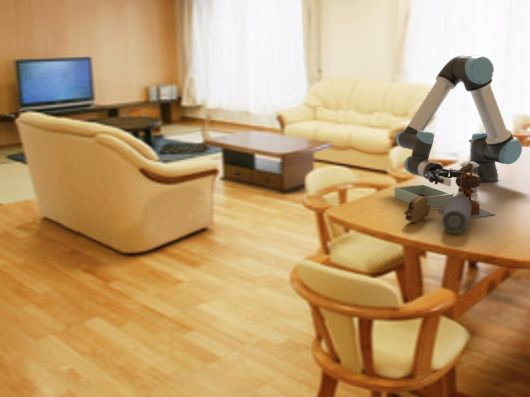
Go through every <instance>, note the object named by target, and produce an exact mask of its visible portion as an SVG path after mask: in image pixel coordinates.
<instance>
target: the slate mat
mask: <svg viewBox="0 0 530 397" xmlns="http://www.w3.org/2000/svg"><path fill="white" fill-rule="evenodd" d="M445 208H446V206H445V207H439V208H438V207H437V208H435V209H434V210H435V211H437V212H439V213H442V214H443V213H444V209H445ZM492 216H495V213H494V212H490V211H487V210H485V209H482V208H480V211H479V214H477V215H471V216H470V220H473V219H478V218H484V217H485V218H486V217H492Z"/></svg>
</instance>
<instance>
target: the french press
mask: <svg viewBox="0 0 530 397" xmlns="http://www.w3.org/2000/svg"><path fill="white" fill-rule="evenodd" d="M471 142H473V140H472V138H471V139H469V140H468V143H470V144H469V145H470V146H469V147H470V149H469V153H471ZM468 163H471V164H472V165H473V168H474V169H472V170H473V173H472V174H474V175H478V174H477V173H474V170H475V167H479V164H477V163H476V162H473V161H470V159H469V160H467V161H462V162H461V163H459V166H460V167H461V168H462V167H464V166H467V164H468ZM476 170H477V168H476ZM459 188H462V187H459V186H458V189H459ZM472 190H473V191H474V193H472V194H471V199H474V198H475V199H476V198H478V197H480V194H478V187H477V188H472ZM461 194H463V191H462V192H461ZM456 195H460V192H457V193H456V194H455V196H456Z"/></svg>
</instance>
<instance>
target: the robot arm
mask: <svg viewBox="0 0 530 397" xmlns="http://www.w3.org/2000/svg"><path fill="white" fill-rule="evenodd" d="M494 72H495V68H494V64H493V62H492V61H491V60H490V59H489V58H488V57H487V56H482V55H477V54H475V55H458V56H455V57H453V58H452V59H450V60H449V61H448V62H447V63H445V65H444V66H443V67H442V69H441V70H440V72H438V74H437V76H436V77H435V80H436V81H435V82H434V84H433V85H432V87H431V89H430V90H429V92H428V94H427V95H426V97H425V98H424V100H423V101H422V103H421V104H420V106H419V108H418V109H417V111H416V112H415V113H414V114H413V116H412V118H411V119H410V122H409V123H408V125H406V127H405V128H404V130H401V131H399V132H397V134H396V135H395V142H396V144H397V146H398V147H401V148H402V149H407V150H411V151H412V152H411V155H409V156H408V157H406V159H405V161H404V163H403V166H404V169H405V170H406V172H408V173H410V174H412V175H416V176H419V177H422V178H424V179H426V180H428V181H429V183H434V185H438V184H441V185H444V186H446V187H452V186H451V184H452V178H455V179H456V178H457V177H458V176H461V175H464V173H457V171H459V170H460V169H454V168H449V169H447V168H444V167H443V165H442V164H440V163H438V162H434V161H432V160H429V158H430V154H431V150H432V149H433V148H432V147H433V144H434V139H435V134H434V133H433V132H429V131H426V130H425V129H426V128H427V127H428V125H429V124H430V122H431V121H432V119H433V117H434V116H435V114H436V113H437V111H438V110H439V108H440V107H441V105H442V104H443V102H444V100H445V99H446V98H447V96H448V95H449V93H450V91H451V90H454V89H456V87H457V85H459V83H463V86H464V89H465V91H466V92H469V93H471V97H472V100H473V101H474V104H475V107H476V110H477V112H478V114H479V115H478V116H479V117H480V120H481V123H482V125H483V128H484V130H485V131H484V132H475V133H473V134H472V135H471V139H472V140H473V142H470V144H471V152H470V155H469V160H470V161H473V162H476V163H477V164H479V167H475V170H474V173H477V174H478V175H474V174H472V175H473V176H477V177H479V178H480V180H481V183H493V182H497V181H498V180H499V174H498V168H497V167H496V166H497V165H496V163H499V164H502V165H503V164H505V165H511V164H514V163H516V162H517V161H518V160H519V158H520V156H521V154H522V152H523V144H522V142H520V141H519V140H518V139H515V138H514V136H513V133H512V131H511V130H509V129H507V128H506V124H505V122H504V118H503V116H502V114H501V111H500V107H499V106H498V102H497V99H496V98H495V94H494V91H493V89H492V86H491V84H492V82H493V79H492V77H493V76H494V74H493V73H494ZM476 168H477V170H476ZM472 169H474V168H472ZM471 173H473V170H471V171H470V172H468V175H470V174H471ZM465 174H466V173H465Z"/></svg>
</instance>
